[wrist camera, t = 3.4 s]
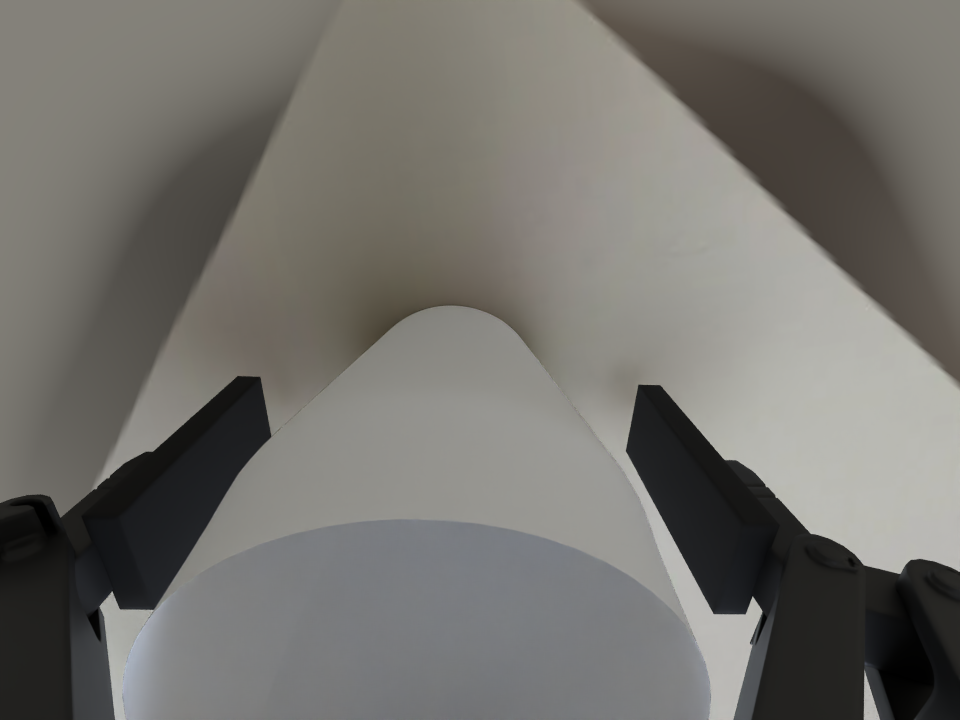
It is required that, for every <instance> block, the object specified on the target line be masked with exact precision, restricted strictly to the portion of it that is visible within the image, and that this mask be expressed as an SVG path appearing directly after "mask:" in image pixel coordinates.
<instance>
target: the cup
mask: <svg viewBox="0 0 960 720" xmlns="http://www.w3.org/2000/svg"><path fill="white" fill-rule="evenodd" d="M710 702H711V693H710V681H709V676H708V672H707V669H706V665H705V661H704V659H703V656H702V654H701V652H700V649H699V647H698V645H697V642H696V640H695V637H694V635H693V633H692V630H691V628H690V626H689V623H688V621H687V618H686V616H685V614H684V611H683V609H682V607H681V604H680V602H679V599H678V597H677V595H676V592H675V590H674V587H673V585H672V582H671V580H670V577H669V575H668V572H667V570H666V567H665V565H664V562H663V560H662V557H661V555H660V553H659V550H658V547H657V544H656V542H655V539H654V536H653V533H652V530H651V527H650V524H649V522H648V519H647V516H646V513H645V511H644V508H643V506H642V504H641V501H640V499H639V497H638V495H637V493H636V492H635V490H634V488H633V487H632V485H631V483H630V482H629V480H628V478H627V477H626V475H625V474H624V472H623V470H622V469H621V467H620V466H619V464H618V463H617V462H616V460H615V459H614V458H613V457H612V455H611V454H610V453H609V451H608V450H607V449H606V447H605V446H604V445H603V443H602V442H601V441H600V440H599V438H598V437H597V436H596V434H595V433H594V432H593V430H592V429H591V428H590V426H589V425H588V424H587V423H586V421H585V420H584V419H583V417H582V416H581V415H580V414H579V412H578V411H577V410H576V408H575V407H574V406H573V405H572V403H571V402H570V401H569V399H568V398H567V397H566V396H565V394H564V393H563V392H562V390H561V389H560V388H559V386H558V385H557V384H556V383H555V381H554V380H553V379H552V377H551V376H550V375H549V374H548V372H547V371H546V370H545V368H544V367H543V366H542V365H541V363H540V362H539V361H538V359H537V358H536V357H535V356H534V354H533V353H532V352H531V350H530V349H529V348H528V347H527V345H526V344H525V343H524V341H523V340H522V339H521V338H520V336H519V335H518V334H517V333H516V332H515V331H514V330H513V329H512V328H511V327H510V326H508V325H507V324H506V323H505V322H503V321H502V320H500V319H498V318H497V317H495V316H493V315H491V314H489V313H486V312H484V311H481V310H478V309H474V308H470V307H464V306H439V307H432V308H428V309H425V310H422V311H419V312H416V313H414V314H412V315H410V316H408V317H406V318H404V319H403V320H401V321H400V322H398V323H397V324H396V325H395V326H393V327H392V328H391V329H390V330H389V331H388V332H387V333H386V334H384V335H383V336H382V337H381V338H380V339H379V340H378V341H377V342H376V343H374V344H373V345H372V346H371V347H370V348H369V349H368V350H367V351H366V352H364V353H363V354H362V355H361V356H360V357H359V358H358V359H357V360H356V361H354V362H353V363H352V364H351V365H350V366H349V367H348V368H347V369H346V370H344V371H343V372H342V373H341V374H340V375H339V376H338V377H337V378H336V379H335V380H333V381H332V382H331V383H330V384H329V385H328V386H327V387H326V388H325V389H323V390H322V391H321V392H320V393H319V394H318V395H317V396H316V397H315V398H313V399H312V400H311V401H310V402H309V403H308V404H307V405H306V406H305V407H304V408H303V409H301V410H300V411H299V412H298V413H297V414H296V415H295V416H294V417H293V418H292V419H290V420H289V421H288V422H287V423H286V424H285V425H284V426H283V427H282V428H281V429H280V430H278V431H277V432H276V433H275V434H274V435H273V436H272V437H271V438H270V439H269V440H268V441H267V442H266V443H265V444H264V445H263V446H262V447H261V448H260V449H259V450H258V451H257V452H256V454H255V455H254V456H253V457H252V458H251V459H250V460H249V461H248V463H247V464H246V465H245V466H244V468H243V469H242V470H241V471H240V472H239V474H238V475H237V477H236V479H235V480H234V482H233V483H232V485H231V487H230V488H229V490H228V491H227V493H226V495H225V496H224V498H223V500H222V501H221V503H220V505H219V506H218V508H217V510H216V512H215V513H214V515H213V517H212V519H211V520H210V522H209V524H208V525H207V527H206V529H205V530H204V532H203V533H202V535H201V537H200V538H199V540H198V541H197V543H196V545H195V546H194V548H193V549H192V551H191V553H190V554H189V556H188V558H187V559H186V561H185V562H184V564H183V565H182V567H181V568H180V570H179V572H178V573H177V575H176V576H175V578H174V579H173V581H172V583H171V584H170V586H169V587H168V589H167V590H166V592H165V594H164V595H163V597H162V598H161V600H160V601H159V603H158V604H157V606H156V608H155V609H154V611H153V612H152V614H151V615H150V617H149V619H148V620H147V622H146V623H145V625H144V627H143V628H142V630H141V631H140V633H139V634H138V636H137V638H136V639H135V642H134V644H133V646H132V649H131V651H130V654H129V656H128V659H127V663H126V667H125V672H124V676H123V703H124V711H125V715H126V719H127V720H708V718H709V714H710Z"/></svg>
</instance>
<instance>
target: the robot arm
mask: <svg viewBox="0 0 960 720" xmlns="http://www.w3.org/2000/svg"><path fill="white" fill-rule="evenodd" d="M270 438H271V433H270V427H269V422H268V416H267V411H266V405H265V400H264V394H263V389H262V383H261V378H260V377H246V376H237V377H236V378H235V379H234V380H233V381H232V382H231V383H230V384H228V385H227V386H226V387H225V388H224V389H223V390H222V391H221V392H219V393H218V394H217V395H216V396H215V397H214V398H213V399H212V400H211V401H209V402H208V403H207V404H206V405H205V406H204V407H203V408H202V409H200V410H199V411H198V412H197V413H196V414H195V415H194V416H193V417H191V418H190V419H189V420H188V421H187V422H186V423H185V424H184V425H182V426H181V427H180V428H179V429H178V430H177V431H176V432H175V433H173V434H172V435H171V436H170V437H169V438H168V439H167V440H166V441H165V442H163V443H162V444H161V445H160V446H159V447H158V448H157V449H156V450H154V451H153V452H145V453H143V454H141V455H139V456H137V457H135V458H133V459H131V460H130V461H128V462H126V463H124V464H123V465H122V466H121V467H120V468H119V469H117V470H116V471H115V472H114V473H113V474H112V475H110V478H107V479H106V480H105V481H103V482H102V483H101V484H100V485H99V486H98V488H97V489H94V490H93V491H92V492H90V493H89V494H88V495H87V496H86V497H85V498H84V499H82V500H81V501H80V502H79V503H78V504H76V505H75V506H74V507H73V508H72V509H71V510H69V511H68V512H67V513H66V514H65V515H63V516H62V517H61V518H60V517H59V514H58V512H57V510H56V507H55V505H54V503H53V501H52V499H51V498H50V497H48V496H45V495H26V496H22V497H18V498H14V499H10V500H7V501H5V502H3V503H0V720H115V716H114V707H113V697H112V688H111V679H110V669H109V660H108V651H107V641H106V632H105V623H104V616H103V614H102V611H101V609H100V607H99V606H100V605H101V604H102V603H103V601H104V600H105V599H106V598H107V597H108V595H109V594H110V593H111V592H112V591H113V594H114V596H115V599H116V601H117V603H118V606H119V608H120V609H141V610H154V609H155V607H156V606H157V604H158V603H159V601H160V600H161V598H162V597H163V595H164V594H165V592H166V590H167V589H168V587H169V586H170V584H171V583H172V581H173V579H174V578H175V576H176V575H177V573H178V572H179V570H180V568H181V567H182V565H183V564H184V562H185V561H186V559H187V558H188V556H189V554H190V553H191V551H192V549H193V548H194V546H195V545H196V543H197V541H198V540H199V538H200V537H201V535H202V533H203V532H204V530H205V529H206V527H207V525H208V524H209V522H210V520H211V519H212V517H213V515H214V513H215V512H216V510H217V508H218V506H219V505H220V503H221V501H222V500H223V498H224V496H225V495H226V493H227V491H228V490H229V488H230V487H231V485H232V483H233V482H234V480H235V479H236V477H237V475H238V474H239V472H240V471H241V470H242V469H243V468H244V466H245V465H246V464H247V463H248V461H249V460H250V459H251V458H252V457H253V456H254V455H255V454H256V452H257V451H258V450H259V449H260V448H261V447H262V446H263V445H264V444H265V443H266V442H267V441H268V440H269V439H270ZM626 452H627V454H628V456H629V457H630V459H631V461H632V463H633V465H634V467H635V469H636V470H637V472H638V474H639V476H640V478H641V480H642V482H643V483H644V485H645V487H646V489H647V491H648V493H649V495H650V496H651V498H652V500H653V502H654V504H655V506H656V508H657V509H658V511H659V513H660V515H661V517H662V519H663V521H664V522H665V524H666V526H667V528H668V530H669V532H670V534H671V535H672V537H673V539H674V541H675V543H676V545H677V547H678V548H679V550H680V552H681V554H682V556H683V558H684V560H685V561H686V563H687V565H688V567H689V569H690V571H691V573H692V574H693V576H694V578H695V580H696V582H697V584H698V586H699V587H700V589H701V591H702V593H703V595H704V597H705V599H706V600H707V602H708V604H709V606H710V608H711V610H712V612H713V614H746V612H747V609H748V607H749V604H750V601H751V599H752V596H753V597H754V598H755V600H756V602H757V603H758V605H759V606H760V608H761V609H762V611H763V612H762V615H761V617H760V620H759V622H758V624H757V627H756V629H755V632H754V634H753V637H752V639H751V642H750V644H752V645H753V646H752V650H751V653H750V657H749V661H748V665H747V669H746V673H745V677H744V681H743V685H742V688H741V692H740V696H739V700H738V704H737V708H736V712H735V716H734V720H864V669H865V672H866V676H867V679H868V682H869V685H870V689H871V692H872V695H873V698H874V701H875V705H876V708H877V711H878V714H879V717H880V720H960V572H958V571H957V570H955V569H953V568H950V567H948V566H945V565H942V564H939V563H937V562H933V561H928V560H923V559H917V560H910V561H909V562H908V563H907V564H906V565H905V567H904V569H903V571H902V572H901V574H897V573H893V572H889V571H885V570H881V569H876V568H872V567H868V566H864V565H863V564H862V562H861V561H860V560H859V559H858V558H857V557H856V555H855V554H853V553H852V552H851V551H849V550H848V549H847V548H845V547H844V546H842V545H840V544H838V543H837V542H835V541H833V540H831V539H828V538H825V537H822V536H819V535H815V534H810V533H809V531H808V530H807V529H806V528H805V527H804V526H803V525H802V524H801V523H800V522H799V521H798V520H797V518H796V517H795V516H794V515H793V514H792V513H791V512H790V511H789V510H788V509H787V508H786V506H785V505H784V504H783V503H782V502H781V501H780V500H779V499H778V498H775V494H774V493H773V492H772V491H771V490H770V489H769V488H768V487H766V486H765V484H764V483H763V481H762V480H761V479H760V478H759V477H758V476H757V475H756V474H755V473H754V472H753V471H752V470H750V469H749V468H747V467H745V466H744V465H742V464H741V463H739V462H738V461H736V460H724V459H723V458H722V457H721V456H720V454H719V453H718V452H717V451H716V450H715V449H714V447H713V446H712V445H711V444H710V443H709V442H708V440H707V439H706V438H705V437H704V436H703V435H702V433H701V432H700V431H699V430H698V429H697V428H696V426H695V425H694V424H693V423H692V422H691V421H690V419H689V418H688V417H687V416H686V415H685V414H684V412H683V411H682V410H681V409H680V408H679V407H678V405H677V404H676V403H675V402H674V401H673V400H672V398H671V397H670V396H669V395H668V394H667V393H666V391H665V390H664V389H663V388H662V387H661V386H660V385H638V391H637V396H636V401H635V406H634V411H633V417H632V422H631V427H630V432H629V437H628V443H627V448H626Z"/></svg>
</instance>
